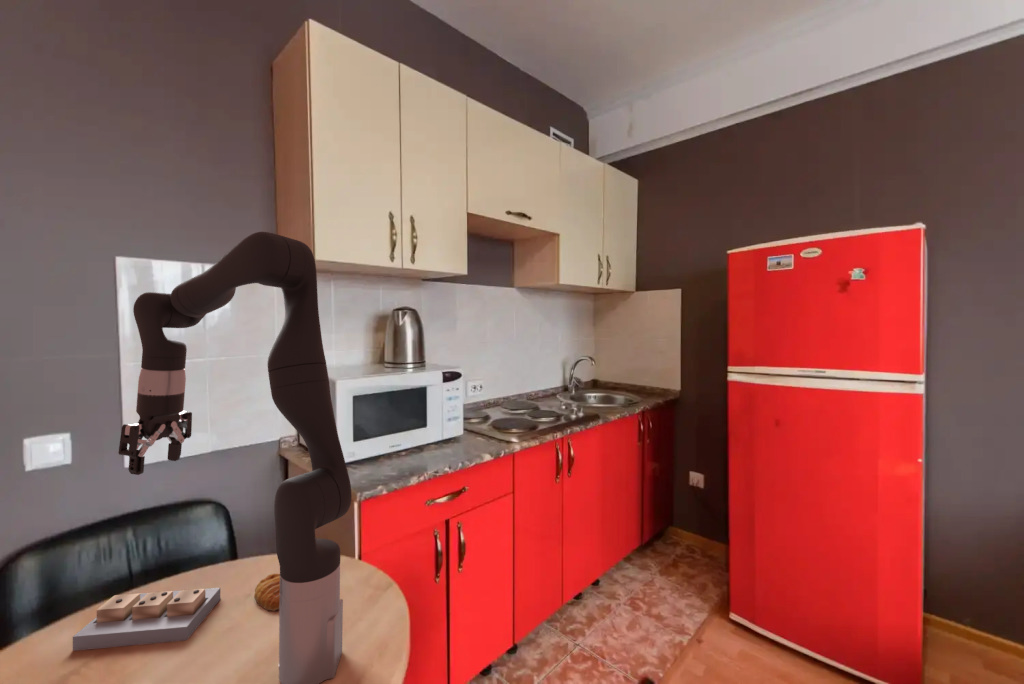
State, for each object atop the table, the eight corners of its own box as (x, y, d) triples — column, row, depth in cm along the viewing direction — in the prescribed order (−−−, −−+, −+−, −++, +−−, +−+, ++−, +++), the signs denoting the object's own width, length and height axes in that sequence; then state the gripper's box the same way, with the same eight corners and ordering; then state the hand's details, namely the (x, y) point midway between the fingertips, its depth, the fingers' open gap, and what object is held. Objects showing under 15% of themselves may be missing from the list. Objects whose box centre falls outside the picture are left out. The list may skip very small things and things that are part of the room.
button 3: (173, 603, 84) (173, 589, 84) (158, 617, 80) (158, 603, 80) (148, 605, 83) (148, 591, 83) (132, 620, 79) (132, 605, 79)
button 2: (205, 600, 85) (205, 587, 85) (192, 615, 81) (192, 601, 81) (180, 602, 84) (181, 589, 84) (166, 617, 80) (167, 603, 80)
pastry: (299, 603, 88) (299, 585, 88) (263, 618, 84) (263, 600, 84) (285, 584, 95) (285, 567, 95) (251, 597, 90) (251, 579, 90)
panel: (220, 599, 89) (220, 587, 89) (186, 640, 77) (186, 626, 77) (123, 606, 86) (123, 594, 86) (72, 650, 74) (72, 636, 74)
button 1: (140, 605, 83) (140, 592, 83) (123, 620, 79) (123, 606, 79) (114, 607, 82) (114, 594, 82) (96, 623, 78) (96, 608, 78)
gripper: (147, 398, 80) (140, 482, 80) (206, 387, 94) (200, 458, 95) (110, 393, 80) (104, 476, 81) (174, 382, 94) (168, 453, 95)
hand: (155, 466), depth 88 cm, fingers open, 8 cm apart
